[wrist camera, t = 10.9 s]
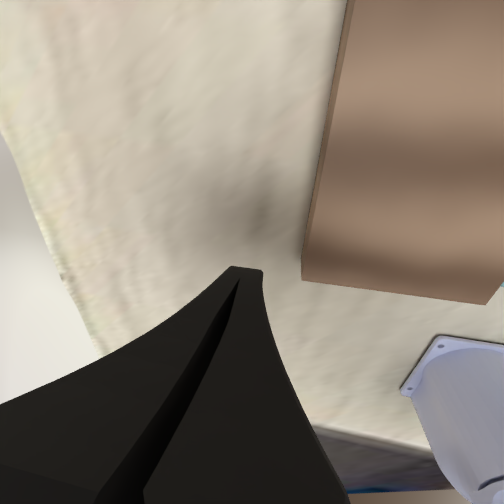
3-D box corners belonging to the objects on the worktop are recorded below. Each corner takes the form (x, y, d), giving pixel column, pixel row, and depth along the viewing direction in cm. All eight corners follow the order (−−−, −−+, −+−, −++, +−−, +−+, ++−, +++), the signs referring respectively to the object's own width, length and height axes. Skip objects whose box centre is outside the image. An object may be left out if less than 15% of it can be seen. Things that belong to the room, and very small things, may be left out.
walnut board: (457, 278, 17) (485, 305, 15) (301, 258, 19) (301, 280, 16) (655, -33, 9) (790, -90, 7) (351, -23, 11) (368, -67, 8)
